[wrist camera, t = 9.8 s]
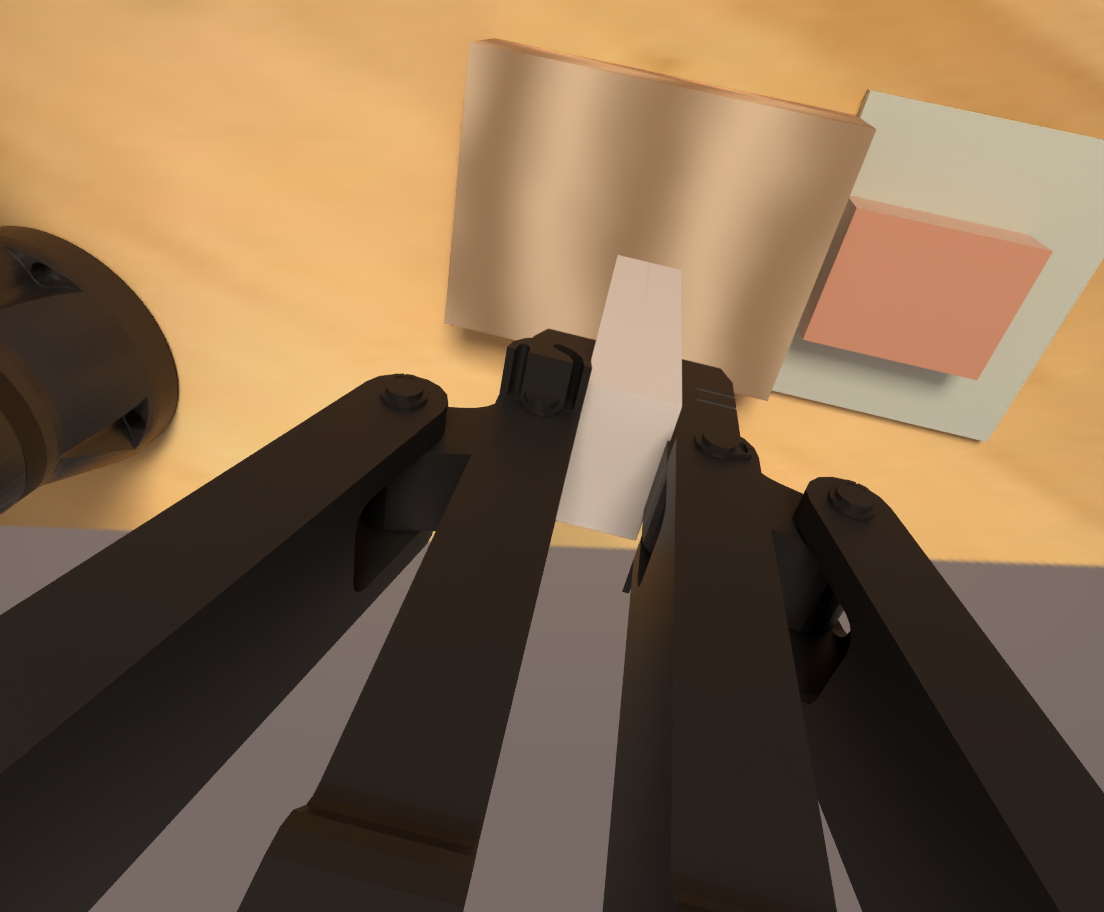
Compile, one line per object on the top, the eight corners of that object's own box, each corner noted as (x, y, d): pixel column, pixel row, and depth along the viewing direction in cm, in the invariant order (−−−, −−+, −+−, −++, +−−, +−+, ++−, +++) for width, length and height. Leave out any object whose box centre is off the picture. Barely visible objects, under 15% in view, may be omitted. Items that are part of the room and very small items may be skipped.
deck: (467, 295, 37) (444, 323, 34) (495, 38, 30) (469, 41, 27) (761, 365, 36) (767, 400, 33) (857, 116, 29) (876, 129, 26)
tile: (796, 319, 34) (802, 339, 32) (846, 194, 31) (856, 207, 28) (960, 357, 33) (977, 380, 31) (1029, 234, 30) (1053, 251, 28)
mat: (755, 381, 37) (756, 386, 36) (867, 89, 29) (870, 90, 28) (983, 436, 36) (986, 442, 35) (1161, 151, 28) (1169, 154, 28)
